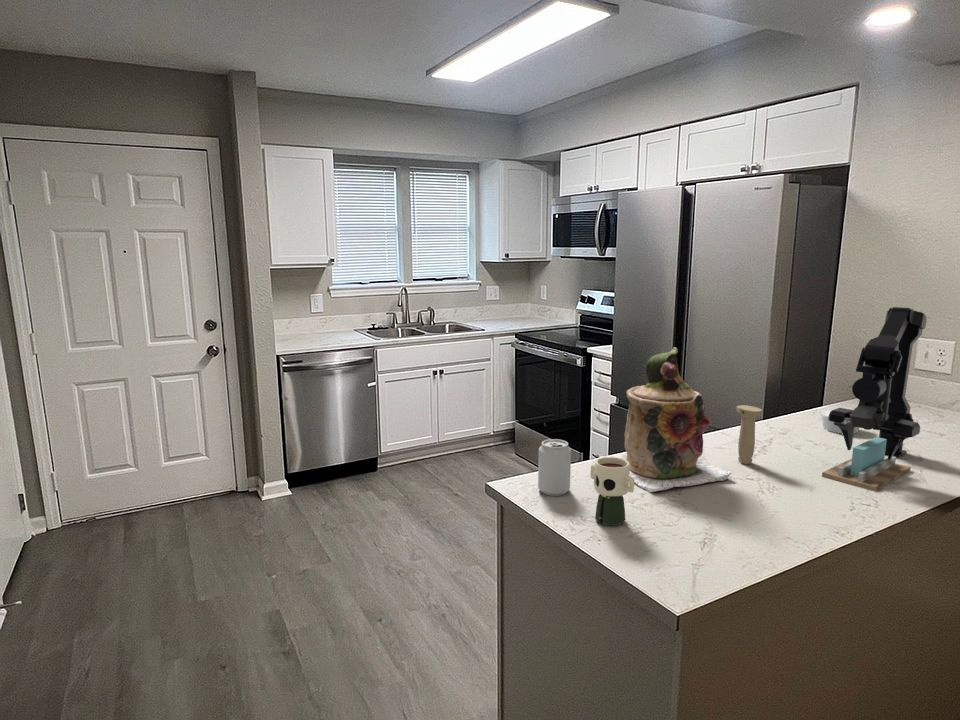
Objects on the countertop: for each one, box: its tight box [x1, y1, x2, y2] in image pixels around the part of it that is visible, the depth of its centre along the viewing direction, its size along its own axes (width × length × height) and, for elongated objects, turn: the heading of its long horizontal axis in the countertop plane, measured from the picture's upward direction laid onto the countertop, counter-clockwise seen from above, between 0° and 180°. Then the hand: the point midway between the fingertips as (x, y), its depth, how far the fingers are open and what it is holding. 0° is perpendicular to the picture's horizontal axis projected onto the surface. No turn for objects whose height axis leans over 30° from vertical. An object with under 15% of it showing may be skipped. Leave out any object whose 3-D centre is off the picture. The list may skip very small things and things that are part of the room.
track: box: [821, 456, 912, 492], centre depth 154 cm, size 22×12×3 cm, turn 127°
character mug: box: [590, 457, 635, 526], centre depth 127 cm, size 11×7×13 cm, turn 40°
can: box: [537, 438, 572, 497], centre depth 143 cm, size 8×8×12 cm
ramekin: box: [820, 409, 860, 434], centre depth 191 cm, size 11×11×5 cm
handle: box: [735, 404, 763, 465], centre depth 161 cm, size 5×6×15 cm
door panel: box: [850, 436, 887, 476], centre depth 154 cm, size 14×2×7 cm, turn 127°
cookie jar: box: [598, 346, 732, 493], centre depth 154 cm, size 25×25×32 cm
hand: (868, 454), depth 154 cm, fingers open, 9 cm apart
